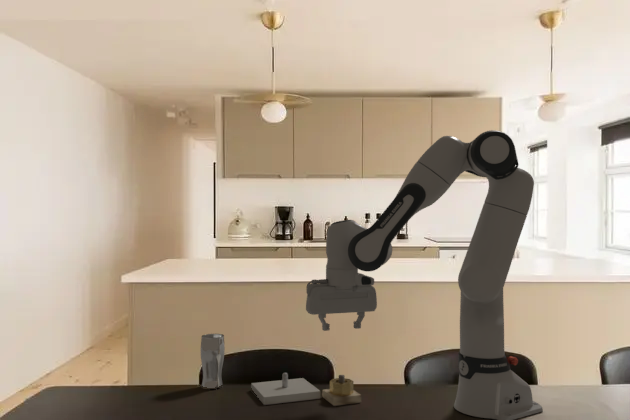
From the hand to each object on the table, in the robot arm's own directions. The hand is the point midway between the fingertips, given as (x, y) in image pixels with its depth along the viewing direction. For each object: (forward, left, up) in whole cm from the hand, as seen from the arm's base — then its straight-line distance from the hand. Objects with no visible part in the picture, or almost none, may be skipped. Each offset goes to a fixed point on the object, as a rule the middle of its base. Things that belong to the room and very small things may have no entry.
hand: (341, 329), depth 143 cm
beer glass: (+31, -24, -19) cm, 44 cm away
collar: (0, 0, -17) cm, 17 cm away
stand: (0, 0, -19) cm, 19 cm away
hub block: (+13, -10, -19) cm, 25 cm away
